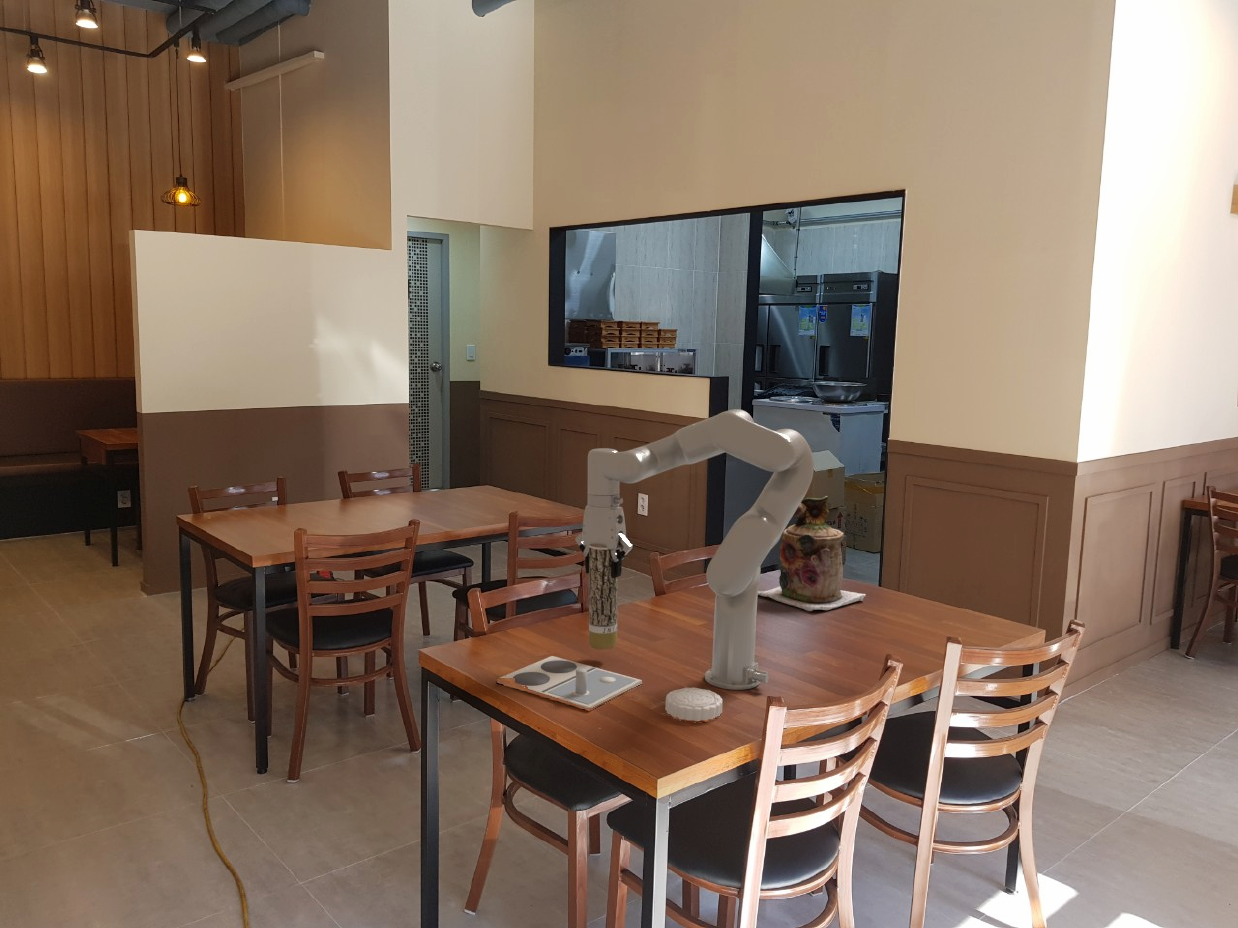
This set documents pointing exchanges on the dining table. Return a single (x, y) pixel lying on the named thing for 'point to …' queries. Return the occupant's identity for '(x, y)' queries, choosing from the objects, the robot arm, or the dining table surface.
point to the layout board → (573, 681)
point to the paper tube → (602, 599)
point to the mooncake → (693, 704)
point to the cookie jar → (811, 562)
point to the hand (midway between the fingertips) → (603, 574)
